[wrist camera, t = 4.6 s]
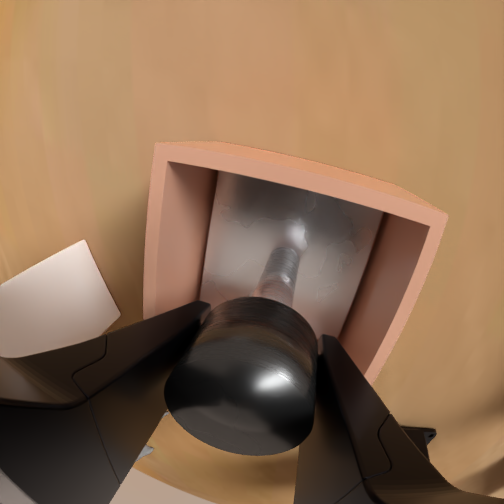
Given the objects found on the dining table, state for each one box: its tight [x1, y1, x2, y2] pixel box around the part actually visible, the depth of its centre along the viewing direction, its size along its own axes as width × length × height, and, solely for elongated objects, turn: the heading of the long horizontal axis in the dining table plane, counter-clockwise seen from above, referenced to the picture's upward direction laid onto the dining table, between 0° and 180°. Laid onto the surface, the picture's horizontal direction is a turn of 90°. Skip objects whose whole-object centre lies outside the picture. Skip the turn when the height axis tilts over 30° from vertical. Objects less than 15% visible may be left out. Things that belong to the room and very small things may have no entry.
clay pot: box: [143, 142, 449, 386], centre depth 13 cm, size 9×9×6 cm
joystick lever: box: [164, 170, 383, 456], centre depth 10 cm, size 7×7×10 cm
